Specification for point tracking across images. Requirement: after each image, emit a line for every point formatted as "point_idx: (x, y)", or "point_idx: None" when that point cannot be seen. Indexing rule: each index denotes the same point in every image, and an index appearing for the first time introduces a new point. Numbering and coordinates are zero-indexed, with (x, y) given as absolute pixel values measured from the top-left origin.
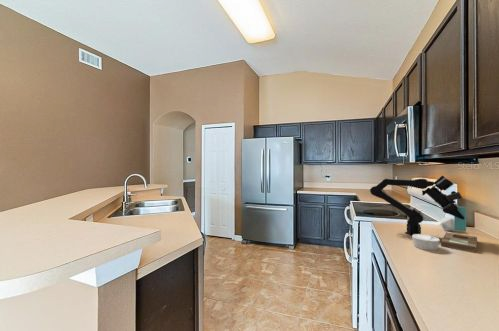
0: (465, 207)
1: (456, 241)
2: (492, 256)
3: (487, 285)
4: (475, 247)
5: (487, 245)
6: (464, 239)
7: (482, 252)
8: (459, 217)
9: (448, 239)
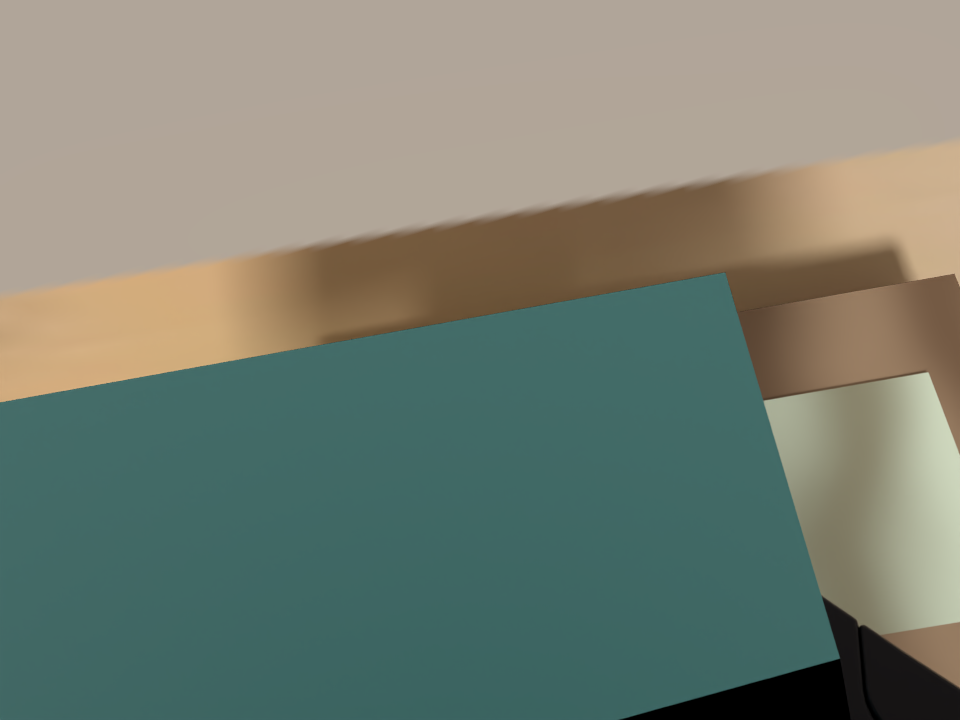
0: (185, 401)
1: (895, 528)
2: (882, 168)
3: None
4: (954, 280)
5: (420, 286)
6: None
7: (815, 260)
8: None
9: None
